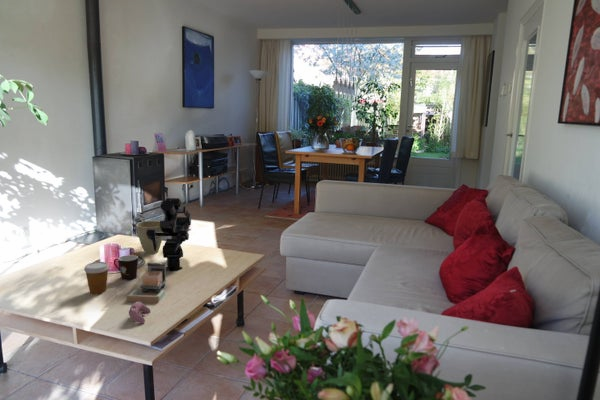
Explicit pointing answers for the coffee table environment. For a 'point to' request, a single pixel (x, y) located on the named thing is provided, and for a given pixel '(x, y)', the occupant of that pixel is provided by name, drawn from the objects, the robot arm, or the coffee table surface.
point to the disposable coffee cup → (97, 277)
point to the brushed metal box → (154, 277)
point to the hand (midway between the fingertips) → (164, 251)
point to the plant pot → (143, 238)
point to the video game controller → (138, 312)
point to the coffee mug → (128, 266)
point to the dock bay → (144, 297)
